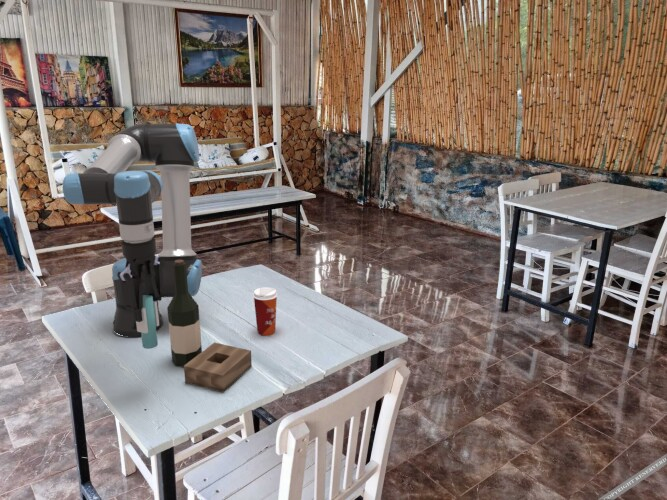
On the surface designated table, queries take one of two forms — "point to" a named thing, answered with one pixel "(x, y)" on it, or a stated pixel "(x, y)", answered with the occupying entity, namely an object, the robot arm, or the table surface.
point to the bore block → (218, 367)
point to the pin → (149, 324)
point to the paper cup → (265, 310)
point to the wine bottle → (183, 319)
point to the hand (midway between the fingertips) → (148, 328)
